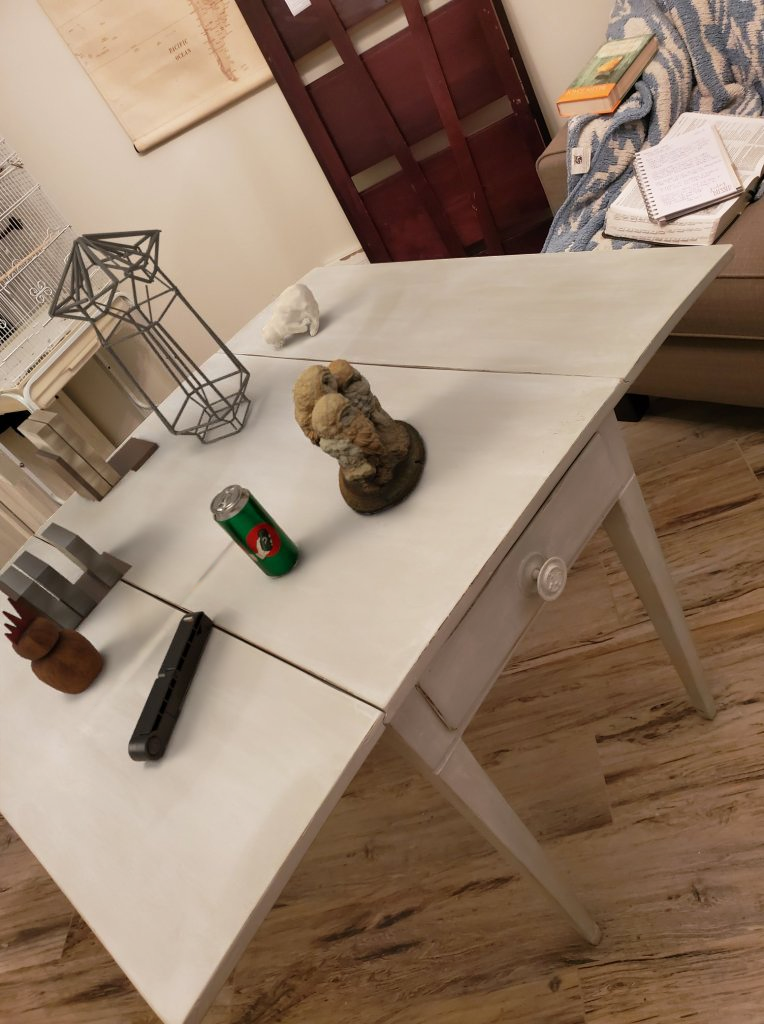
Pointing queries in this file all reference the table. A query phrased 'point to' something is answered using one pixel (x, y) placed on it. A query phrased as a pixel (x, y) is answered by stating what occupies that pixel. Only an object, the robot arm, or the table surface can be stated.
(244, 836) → the table surface
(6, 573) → the grey rack
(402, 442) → the tan stone sculpture
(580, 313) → the table surface
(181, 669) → the tablet stand
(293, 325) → the white lumpy piece
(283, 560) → the soda can
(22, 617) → the wooden figurine
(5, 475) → the cream rectangular block
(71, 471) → the wooden book holder
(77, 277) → the geometric lantern
